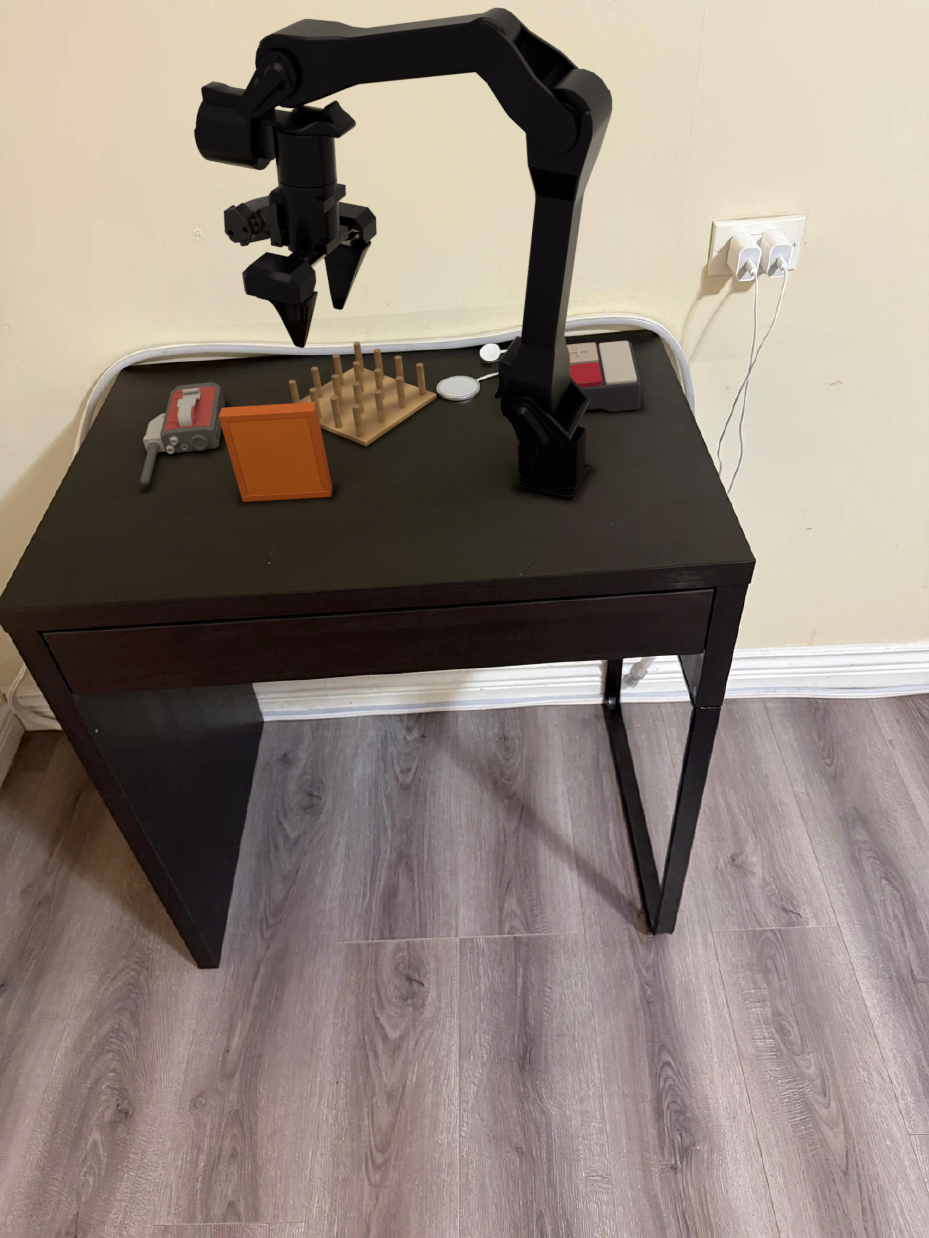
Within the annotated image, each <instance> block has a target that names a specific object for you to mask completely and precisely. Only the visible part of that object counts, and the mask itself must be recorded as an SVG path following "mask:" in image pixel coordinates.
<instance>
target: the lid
mask: <svg viewBox="0 0 929 1238" xmlns="http://www.w3.org/2000/svg"><path fill="white" fill-rule="evenodd" d="M219 419H220V422H221V427H222V428H221V431H222V434H223V436H224V440H225V444H226V447H227V452H228V454H229V458H230V461H231V465H232V469H233V472H234V477H235V480H236V483H237V486H238V489H239V494H240V497H241V500H242V503H247V502H248V503H249V502H266V501H267V502H268V501H281V500H282V501H283V500H300V499H315V498H331V497H332V492H333V483H332V479H331V478H332V477H331V473H330V469H329V463H328V458H327V453H326V449H325V448H326V447H325V443H324V437H323V433H322V428H321V427H320V422H319V417H318V412H317V407H316V403H315V402H308V403H293V402H292V403H291V402H290V403H278V404H277V403H276V404H275V403H274V404H261V405H246V406H230V407H225V408H222V409H221V412H220V414H219Z"/></svg>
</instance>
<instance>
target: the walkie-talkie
mask: <svg viewBox="0 0 929 1238" xmlns="http://www.w3.org/2000/svg"><path fill="white" fill-rule="evenodd" d="M166 406H167V407H166V409H165V413H161V414H159V415H158V416H156V417H155V418H153V419H152V420H151V421H149V422H148V424H147V428H146V432H145V435H144V436H143V439H142V442H143V444H144V448H145V451H146V453H147V454H146V457H145V461H144V464H143V469H142V471H141V472H142V473H141V476H140V480H139V481H140V484H141V485H144V486H148V485H150V483H151V478H152V475H153V471H154V466H155V462H156V458H157V455H158V454H159V453H162V452H165V453H167V454H169V455H172V454H180V453H189V452H202V451H207V450H215V449H217V448H218V447H219V446H220V441H221V435H222V434H221V433H222V427H221V422H220V419H219V414H220V412H221V409H222V408H226V401H225V397H224V394H223V390H222V386H220V385H219V384H217V383H215V382H213V381H209V382H199V383H192V384H190V383H189V384H182V385H177V386H176V387H175V388H173V390H171V391H170V393H169V398H168V401H167V405H166Z"/></svg>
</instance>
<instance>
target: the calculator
mask: <svg viewBox="0 0 929 1238" xmlns="http://www.w3.org/2000/svg"><path fill="white" fill-rule="evenodd" d="M567 347H568V351H569V354H570V376H571V378H572V379H573V380H574V381H575V383H576V384H577V385H578V386H579V387H580V388H581V389H582V390H583V391H584V392H585V393H586V394H587V395H588V396H589V397H590V399H591V401H590V404H589V406H588V408H587V410H588V411H589V410H604V411H607V412H609V413H615V412H626V411H638V410H640V409H641V404H642V403H641V402H642V401H641V400H642V399H641V398H642V381H641V377H640V373H639V368H638V365H637V360H636V357H635V356H636V355H635V352H634V347H633V344H632V342H631V341H628V340H617V341H610V342H609V341H607V342H600V343H598V344H597V343H596V342H595V341H594V342H583V343H573V344H567ZM587 410H586V411H587Z"/></svg>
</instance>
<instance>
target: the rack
mask: <svg viewBox="0 0 929 1238" xmlns="http://www.w3.org/2000/svg"><path fill="white" fill-rule="evenodd" d="M352 345H353V352H354V357H355V358H354V359H355V360H354V361H353V362H352V368H350V369H348V370H347V371H345V372H344V373H343V370H342V362H341V357H340V354H339V353H335V354H332V362H333V366H334V374H332V375H331V377H330V378H331V381H329V382H327V383H325V384H323V386H322V382H321V377H320V370H319V367H318V366H312V367H311V368H310V371H311V378H312V383H313V387H311V388H309V389H308V392H309V394H307V395H306V396H304V397H303V398H300V394H299V390H298V385H297V381H296V380H295V379H290V380H289V381H288V387H289V391H290V396H291V401H292V403H308V402H315V403H316V407H317V412H318V417H319V422H320V427H321V430H322V429H323V430H324V431H327V432H329V433H332V434H335V435H337V436H338V437H339V436H340V437H342V438H345V439H347V440H349V441H352V442H355V443H357V444H359V445H361V446H364V447H368V446H369V445H370V444H371V443H374V441H376V440H377V439H379V438H380V437H381V436H382V437H383V435H385V434H386V433H387V432H390V430H392V429H394V428H395V427H396V426H398V425H399V424H401V423H402V422H404V421H405V420H406V419H408V418H409V417H411V416H412V415H413V414H415V413H417V412H418V411H420V410H421V409H422V408H424V407H425V406H427V405H428V404H429V403H431V402H433V401H434V400H435V399H437V393H435V392H432V391H430V390H427V389H426V379H425V369H424V363H422V362H418V363H416V364H415V369H416V378H417V379H416V380H417V386H416V385H413V384H409V383H407V382H405V376H404V366H403V359H402V356H401V355H395V356H394V364H395V365H394V367H395V374H396V376H395V378H393V377H391V376H388V375H385V373H384V366H383V358H382V351H381V349H380V348H375V349H373V357H374V364H375V369H373V370H370V369H368V368H366V367H364V360H363V352H362V347H361V342H360V341H354V342H353V344H352Z"/></svg>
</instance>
